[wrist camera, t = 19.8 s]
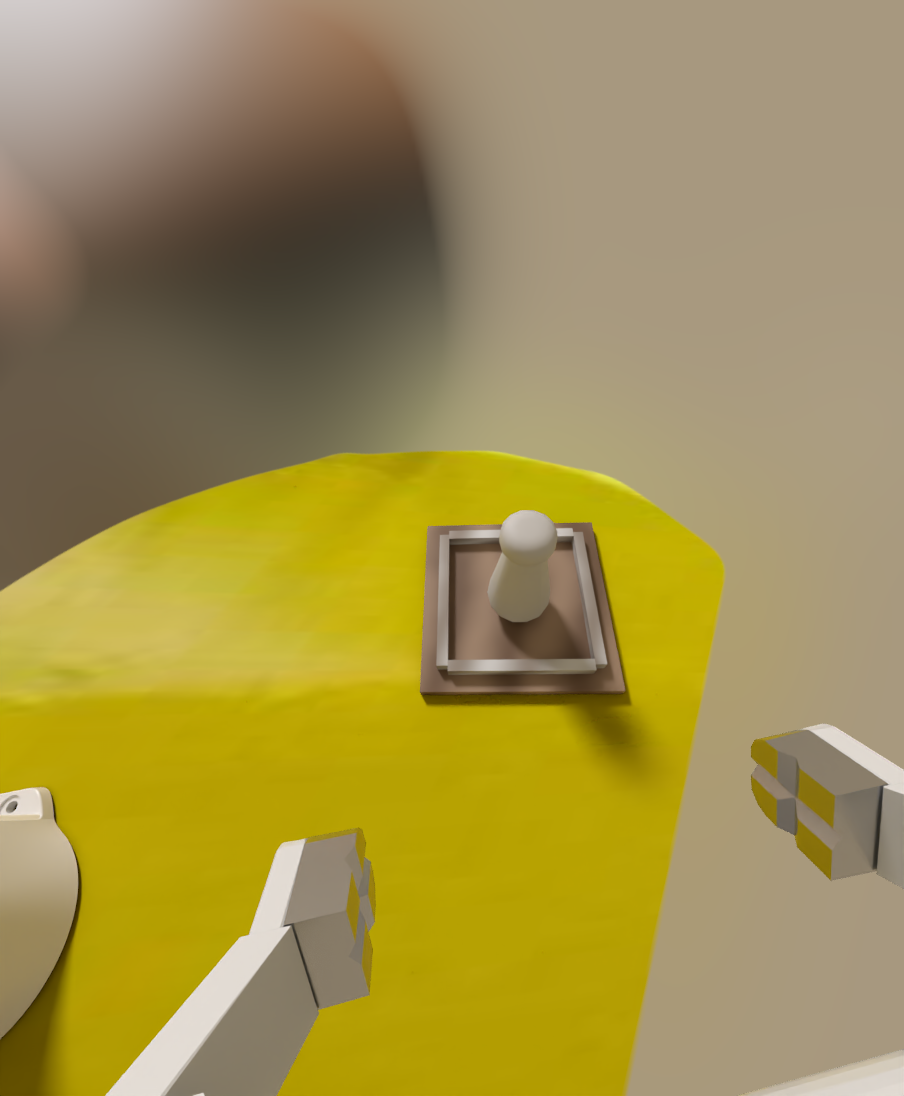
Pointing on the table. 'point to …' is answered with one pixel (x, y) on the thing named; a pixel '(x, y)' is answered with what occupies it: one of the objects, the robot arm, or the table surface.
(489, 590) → the salt shaker
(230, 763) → the table surface
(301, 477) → the table surface
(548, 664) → the socket plate
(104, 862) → the table surface
